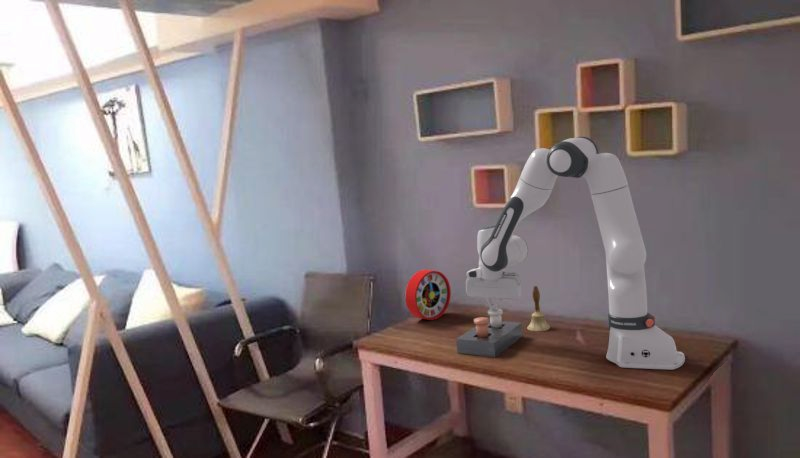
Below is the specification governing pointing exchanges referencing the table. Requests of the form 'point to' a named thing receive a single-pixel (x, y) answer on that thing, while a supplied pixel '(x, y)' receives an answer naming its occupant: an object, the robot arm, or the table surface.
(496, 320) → the white plunger
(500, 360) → the table surface
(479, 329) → the peach mushroom-shaped knob
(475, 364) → the table surface
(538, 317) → the hand bell
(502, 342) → the button console
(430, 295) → the toy clock
